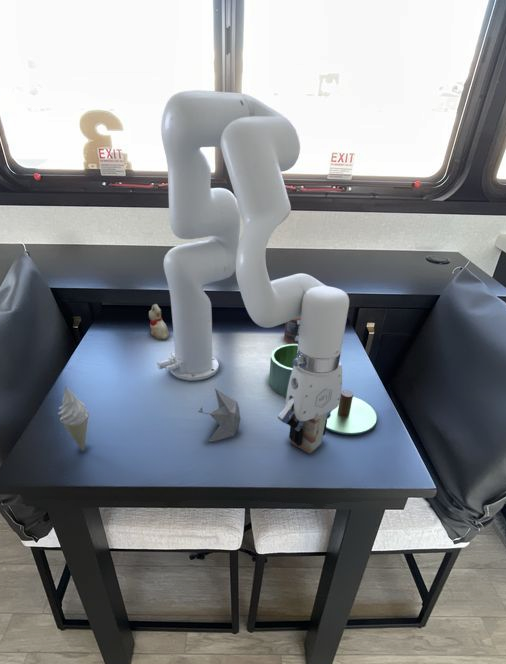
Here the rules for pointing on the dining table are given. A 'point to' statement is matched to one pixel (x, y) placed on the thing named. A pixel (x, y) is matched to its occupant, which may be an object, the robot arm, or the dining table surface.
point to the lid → (351, 416)
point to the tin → (282, 367)
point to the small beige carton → (312, 433)
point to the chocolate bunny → (158, 324)
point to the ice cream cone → (74, 417)
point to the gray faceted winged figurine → (225, 417)
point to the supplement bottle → (292, 330)
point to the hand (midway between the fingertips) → (307, 436)
